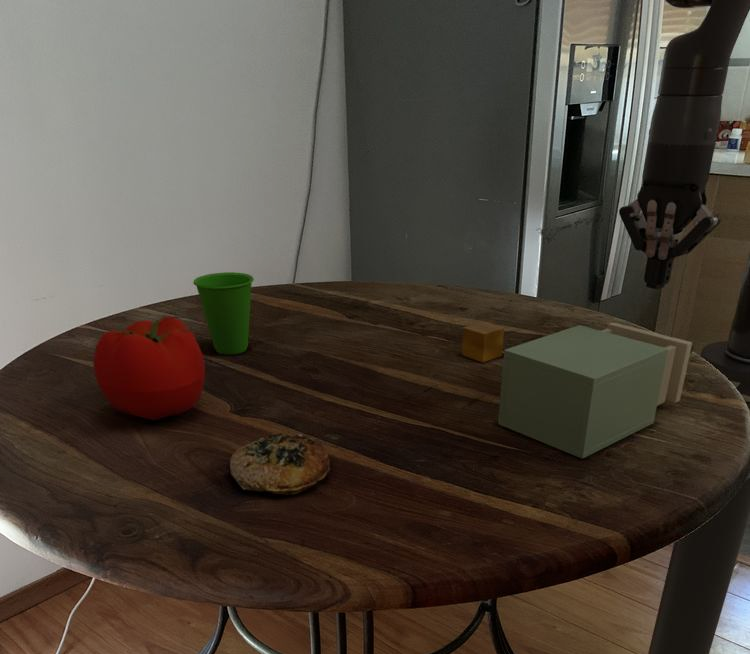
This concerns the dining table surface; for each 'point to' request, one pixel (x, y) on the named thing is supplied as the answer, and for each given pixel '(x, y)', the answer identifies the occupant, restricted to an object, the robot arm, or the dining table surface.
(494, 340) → the block
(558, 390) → the sage green box
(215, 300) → the cup
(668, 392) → the drawer
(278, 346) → the dining table surface
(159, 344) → the tomato
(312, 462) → the bread roll
